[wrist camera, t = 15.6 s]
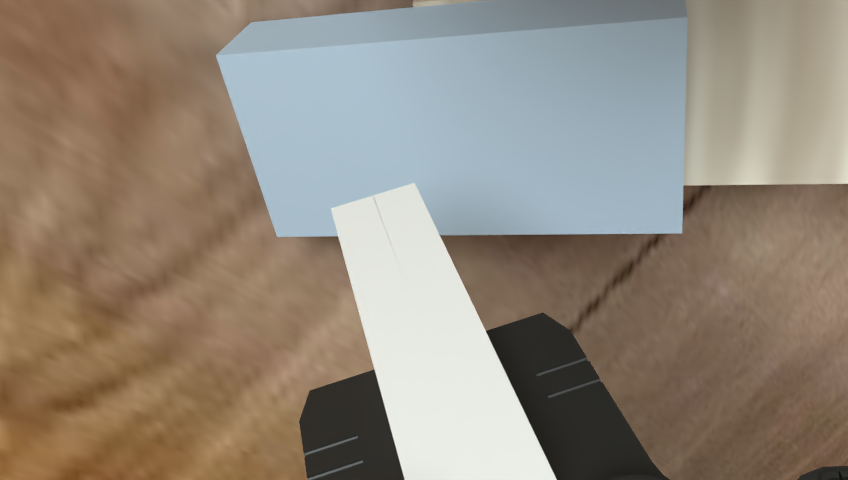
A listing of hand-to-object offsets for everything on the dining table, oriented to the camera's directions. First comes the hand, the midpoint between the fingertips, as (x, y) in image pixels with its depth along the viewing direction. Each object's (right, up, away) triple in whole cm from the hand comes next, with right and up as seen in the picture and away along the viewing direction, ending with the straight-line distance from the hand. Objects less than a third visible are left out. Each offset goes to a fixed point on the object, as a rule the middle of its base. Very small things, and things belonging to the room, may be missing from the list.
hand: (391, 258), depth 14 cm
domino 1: (-3, +3, +6) cm, 7 cm away
